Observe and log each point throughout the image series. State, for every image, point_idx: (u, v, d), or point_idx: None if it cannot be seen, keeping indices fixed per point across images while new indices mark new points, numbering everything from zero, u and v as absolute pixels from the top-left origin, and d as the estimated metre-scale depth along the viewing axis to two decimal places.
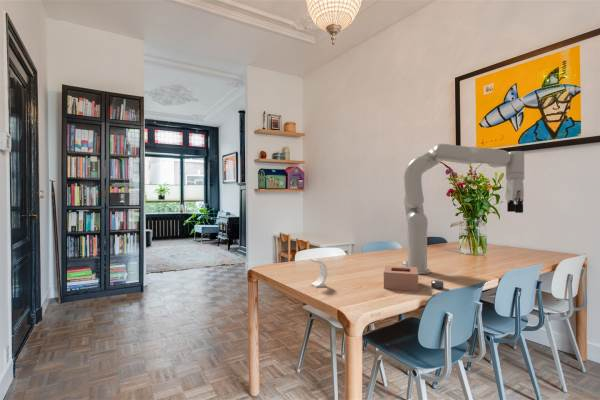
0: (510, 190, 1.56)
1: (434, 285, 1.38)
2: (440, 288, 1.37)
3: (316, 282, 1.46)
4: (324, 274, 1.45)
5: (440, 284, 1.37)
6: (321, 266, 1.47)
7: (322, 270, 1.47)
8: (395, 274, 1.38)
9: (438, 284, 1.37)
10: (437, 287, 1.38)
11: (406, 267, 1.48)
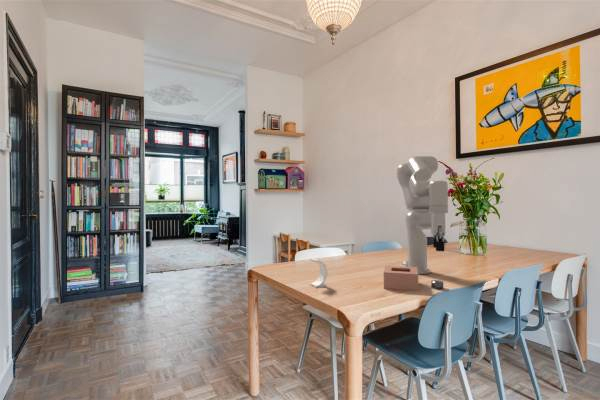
0: (432, 225, 1.38)
1: (434, 285, 1.38)
2: (440, 288, 1.37)
3: (316, 282, 1.46)
4: (324, 274, 1.45)
5: (440, 284, 1.37)
6: (321, 266, 1.47)
7: (322, 270, 1.47)
8: (395, 274, 1.38)
9: (438, 284, 1.37)
10: (437, 287, 1.38)
11: (406, 267, 1.48)
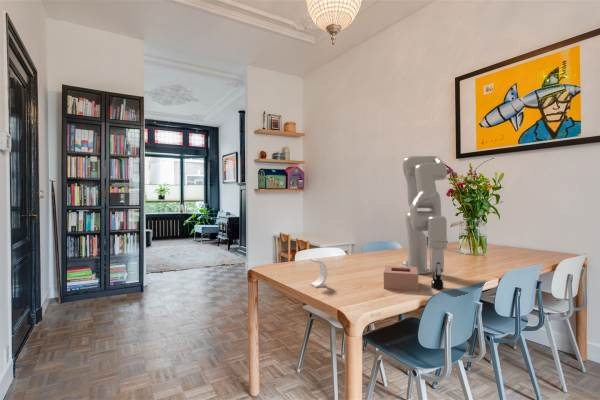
0: (430, 260, 1.38)
1: None
2: None
3: (316, 282, 1.46)
4: (324, 274, 1.45)
5: None
6: (321, 266, 1.47)
7: (322, 270, 1.47)
8: (395, 274, 1.38)
9: None
10: None
11: (406, 267, 1.48)
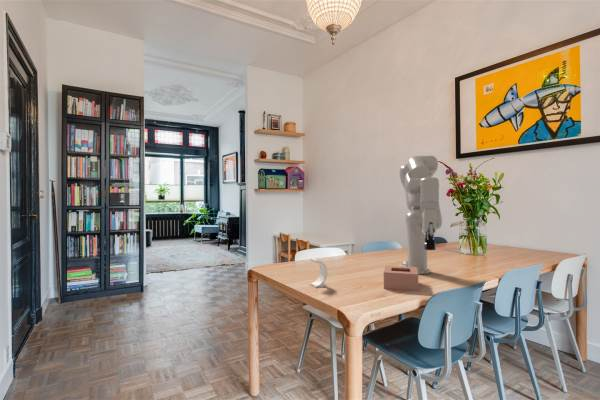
0: (423, 221, 1.39)
1: None
2: None
3: (316, 282, 1.46)
4: (324, 274, 1.45)
5: None
6: (321, 266, 1.47)
7: (322, 270, 1.47)
8: (395, 274, 1.38)
9: None
10: None
11: (406, 267, 1.48)
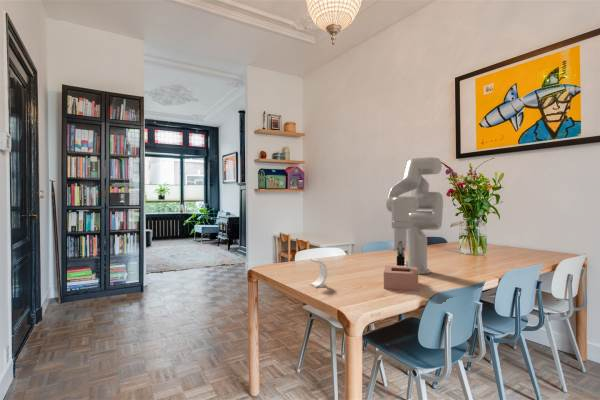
0: None
1: None
2: None
3: (316, 282, 1.46)
4: (324, 274, 1.45)
5: None
6: (321, 266, 1.47)
7: (322, 270, 1.47)
8: (395, 274, 1.38)
9: None
10: None
11: (406, 267, 1.48)
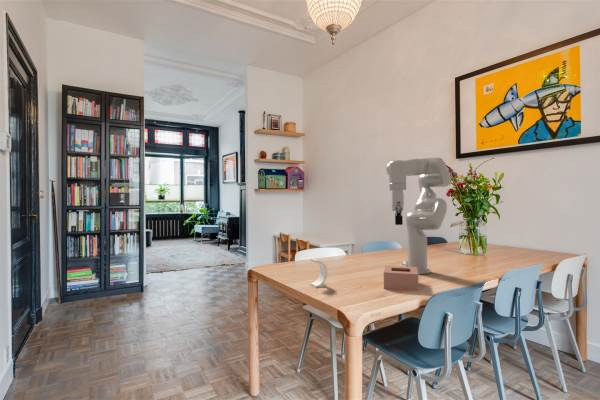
0: None
1: None
2: None
3: (316, 282, 1.46)
4: (324, 274, 1.45)
5: None
6: (321, 266, 1.47)
7: (322, 270, 1.47)
8: (395, 274, 1.38)
9: None
10: None
11: (406, 267, 1.48)
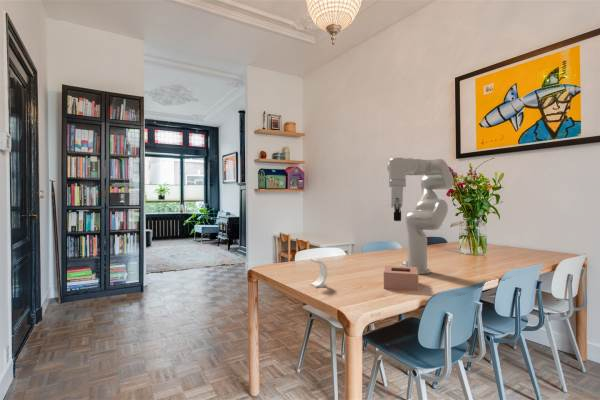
0: None
1: None
2: None
3: (316, 282, 1.46)
4: (324, 274, 1.45)
5: None
6: (321, 266, 1.47)
7: (322, 270, 1.47)
8: (395, 274, 1.38)
9: None
10: None
11: (406, 267, 1.48)
